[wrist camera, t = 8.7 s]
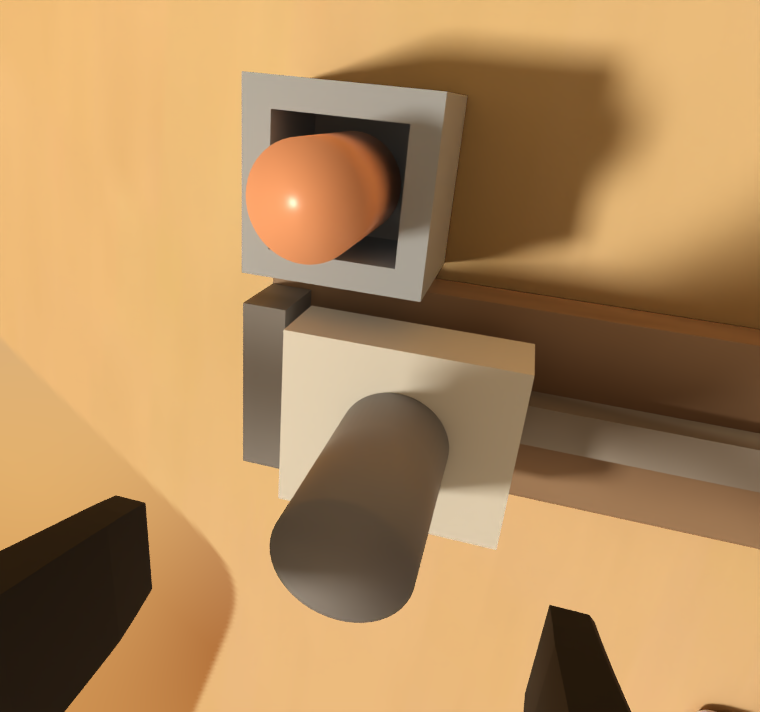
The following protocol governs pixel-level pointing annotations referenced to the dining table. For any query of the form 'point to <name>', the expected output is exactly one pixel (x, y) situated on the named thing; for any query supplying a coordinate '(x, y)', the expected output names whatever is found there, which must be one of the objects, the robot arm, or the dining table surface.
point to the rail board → (575, 399)
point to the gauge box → (413, 156)
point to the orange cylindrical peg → (321, 194)
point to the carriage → (390, 453)
